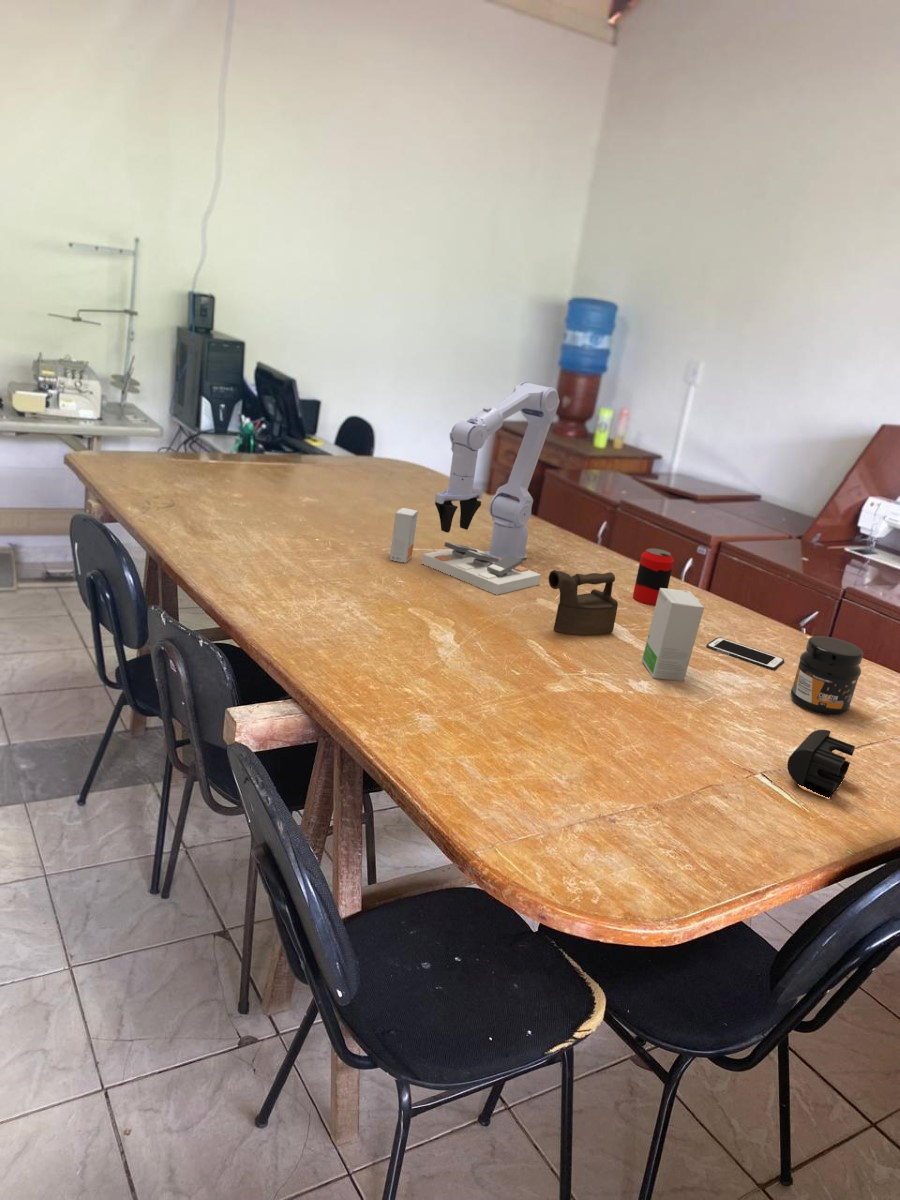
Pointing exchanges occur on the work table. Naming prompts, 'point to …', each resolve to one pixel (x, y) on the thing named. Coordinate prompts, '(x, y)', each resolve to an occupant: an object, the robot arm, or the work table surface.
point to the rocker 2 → (481, 556)
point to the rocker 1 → (458, 547)
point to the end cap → (820, 763)
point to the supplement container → (827, 675)
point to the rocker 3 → (504, 565)
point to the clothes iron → (584, 604)
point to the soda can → (652, 575)
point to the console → (480, 571)
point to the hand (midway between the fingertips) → (454, 529)
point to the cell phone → (745, 653)
